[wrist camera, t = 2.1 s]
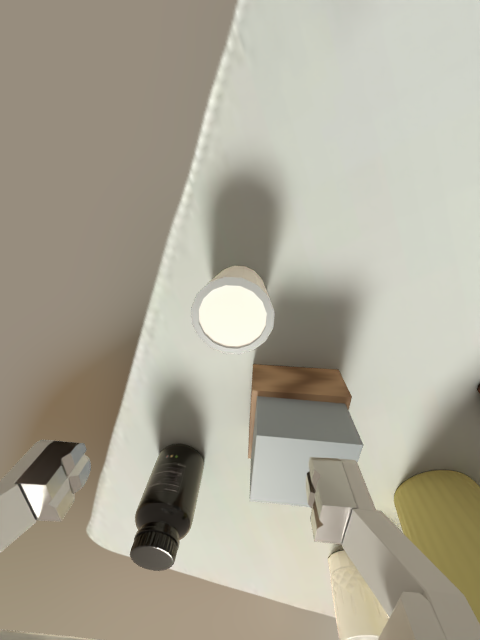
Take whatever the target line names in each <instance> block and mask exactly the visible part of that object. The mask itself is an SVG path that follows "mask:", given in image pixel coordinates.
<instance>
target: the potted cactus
mask: <svg viewBox="0 0 480 640" xmlns="http://www.w3.org/2000/svg"><path fill="white" fill-rule="evenodd" d="M394 504H395V507H396V510H397V514H398V517H399V520H400V524H401V527H402V530H403V533H404V535H405V536H406V537H407V538H408V539H409V540H410V541H411V542H412V543H413V544H414V545H415V546H416V547H417V548H418V549H419V550H420V551H421V552H422V553H423V554H424V555H425V556H426V557H427V558H428V559H429V560H430V561H431V562H432V563H433V564H434V565H435V566H436V567H437V568H438V569H439V570H440V571H441V572H442V573H443V574H444V575H445V576H446V577H447V578H448V579H449V580H450V581H451V582H452V583H453V584H454V585H455V586H456V587H457V588H458V589H459V590H460V592H461V593H462V594H463V595H464V596H465V597H466V599H467V601H468V603H469V605H470V607H471V609H472V611H473V612H474V614H475V616H476V618H477V620H478V622H479V624H480V487H479V486H478V485H477V484H476V483H475V482H474V481H473V480H472V479H471V478H470V477H468V476H467V475H465V474H462V473H460V472H456V471H451V470H435V471H428V472H424V473H421V474H418V475H415V476H413V477H411V478H409V479H408V480H406V481H405V482H403V483H402V484H401V485H400V486H399V487H398V489H397V490H396V492H395V495H394Z"/></svg>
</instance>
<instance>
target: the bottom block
mask: <svg viewBox="0 0 480 640" xmlns="http://www.w3.org/2000/svg"><path fill="white" fill-rule="evenodd" d="M257 396H262V397H274V398H285V399H297V400H309V401H320V402H332V403H344V404H346V406H347V409H348V410H349V406H350V402H351V398H352V396H351V394H350V392H349V390H348V388H347V386H346V384H345V382H344V380H343V378H342V376H341V374H340V371H339V370H337V369H321V368H305V367H289V366H274V365H258V364H253V375H252V391H251V408H250V424H249V447H248V458H251V452H252V442H253V432H254V422H255V412H256V402H257Z"/></svg>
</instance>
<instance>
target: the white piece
mask: <svg viewBox="0 0 480 640" xmlns="http://www.w3.org/2000/svg"><path fill="white" fill-rule="evenodd" d="M274 315H275V312H274V309H273V306H272V303H271V300H270V298H269V295H268V293H267V290H266V288H265V285H264V283H263V281H262V278H261V277H260V276H259V275H258V274H257V273H256V272H255V271H254V270H252V269H250V268H248V267H245V266H232V267H229V268H226V269H224V270H222V271H221V272H220V273H219V274H218V275H217V276H216V277H214V278H213V279H212V280H211V281H210V282H209V283H208V284H207V285H206V286H204V287H203V288H202V289H201V290H200V291H199V292H198V293H197V294H196V297H195V299H194V302H193V304H192V307H191V318H192V325H193V327H194V329H195V331H196V333H197V335H198V337H199V338H200V339H201V340H202V341H203V342H205V343H206V344H207V345H208V346H209V347H210V348H213V349H215V350H217V351H220V352H222V353H228V354H242V353H245V352H249V351H252V350H255V349H256V348H257V347H258V346H260V345H261V344H262V343H264V342H265V341H266V340H267V338H268V336H269V335H270V333H271V331H272V329H273V326H274Z"/></svg>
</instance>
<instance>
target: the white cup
mask: <svg viewBox="0 0 480 640" xmlns="http://www.w3.org/2000/svg"><path fill="white" fill-rule="evenodd" d="M328 564H329V570H330V577H331V588H332V596H333V603H334V609H335V616H336V622H337V629H338V635H339V640H378V638H379V636H380V634H381V633H382V631H383V629H384V627H385V625H386V623H387V621H388V619H389V618H388V616H387V613H386V611H385V610H384V609H383V607H382V606H381V604H380V603H379V601H378V600H377V598H376V597H375V595H374V594H373V592H372V591H371V589H370V588H369V586H368V585H367V583H366V582H365V580H364V579H363V577H362V576H361V574H360V573H359V571H358V570H357V568H356V567H355V565H354V564H353V562H352V561H351V559H350V558H349V556H348V555H347V553H346V552H345V550H343V551H338V552H335V553H333V554H332V555H331V556H330V557H329V559H328Z"/></svg>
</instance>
